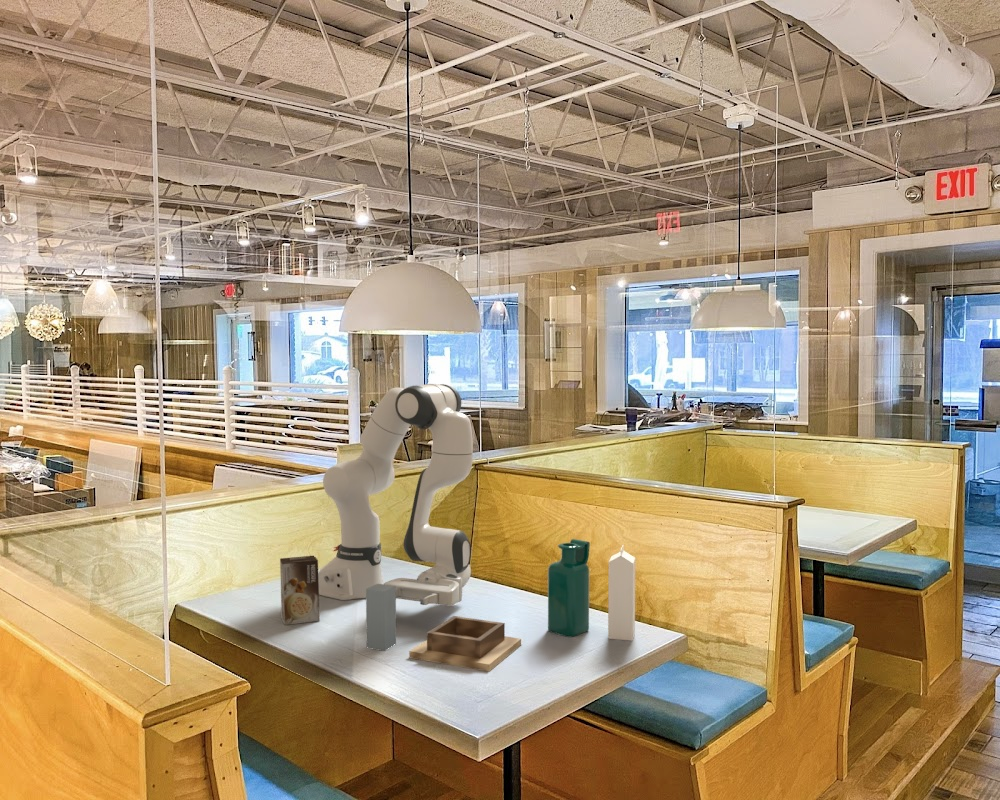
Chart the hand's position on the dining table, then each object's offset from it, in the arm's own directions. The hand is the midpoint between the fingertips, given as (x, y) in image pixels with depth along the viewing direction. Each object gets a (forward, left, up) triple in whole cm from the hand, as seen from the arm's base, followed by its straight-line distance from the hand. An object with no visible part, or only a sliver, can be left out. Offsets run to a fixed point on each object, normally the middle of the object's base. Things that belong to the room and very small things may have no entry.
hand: (406, 599), depth 200 cm
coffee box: (-30, -3, -8) cm, 31 cm away
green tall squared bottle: (+37, +18, -8) cm, 42 cm away
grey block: (0, -11, -8) cm, 14 cm away
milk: (+50, +19, -8) cm, 54 cm away
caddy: (+20, -6, -8) cm, 22 cm away
